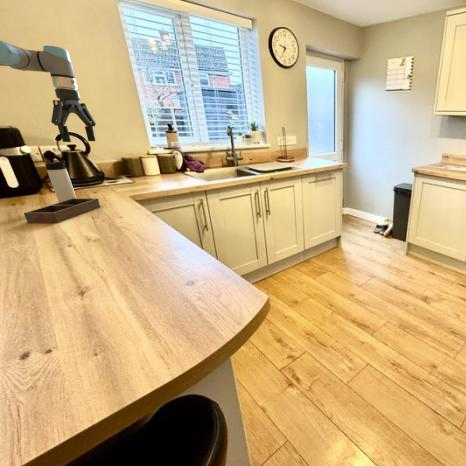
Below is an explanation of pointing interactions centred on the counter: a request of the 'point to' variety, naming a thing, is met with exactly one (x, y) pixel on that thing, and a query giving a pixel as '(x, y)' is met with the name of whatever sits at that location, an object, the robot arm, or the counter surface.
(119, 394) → the counter surface
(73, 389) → the counter surface
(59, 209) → the tray
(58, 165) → the travel mug
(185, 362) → the counter surface
